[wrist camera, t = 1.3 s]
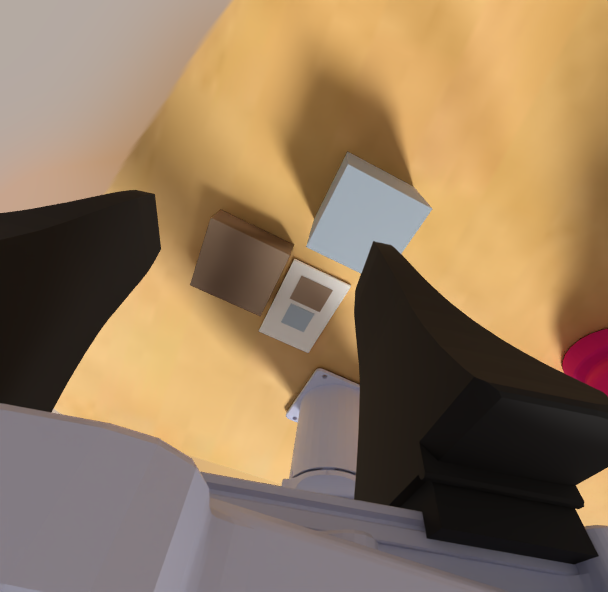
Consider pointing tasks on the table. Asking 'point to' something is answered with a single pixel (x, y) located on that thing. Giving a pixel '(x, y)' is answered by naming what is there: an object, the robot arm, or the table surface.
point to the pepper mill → (589, 360)
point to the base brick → (240, 262)
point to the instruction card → (303, 306)
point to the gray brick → (365, 213)
